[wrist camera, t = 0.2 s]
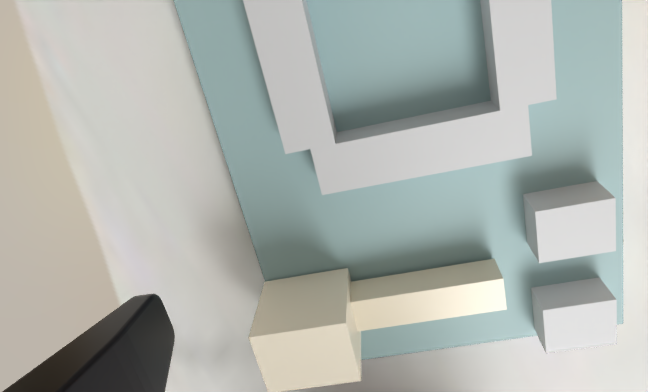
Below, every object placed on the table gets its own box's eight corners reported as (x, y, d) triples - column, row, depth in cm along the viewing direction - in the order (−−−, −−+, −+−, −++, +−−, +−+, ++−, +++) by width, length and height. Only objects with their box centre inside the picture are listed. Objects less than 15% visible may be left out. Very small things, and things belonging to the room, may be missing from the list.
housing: (611, 308, 26) (641, 348, 23) (296, 353, 28) (290, 394, 25) (605, -172, 18) (648, -194, 15) (167, -53, 20) (138, -55, 17)
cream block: (498, 299, 24) (523, 359, 21) (281, 332, 26) (268, 393, 22) (492, 243, 23) (517, 297, 19) (264, 281, 25) (248, 337, 21)
